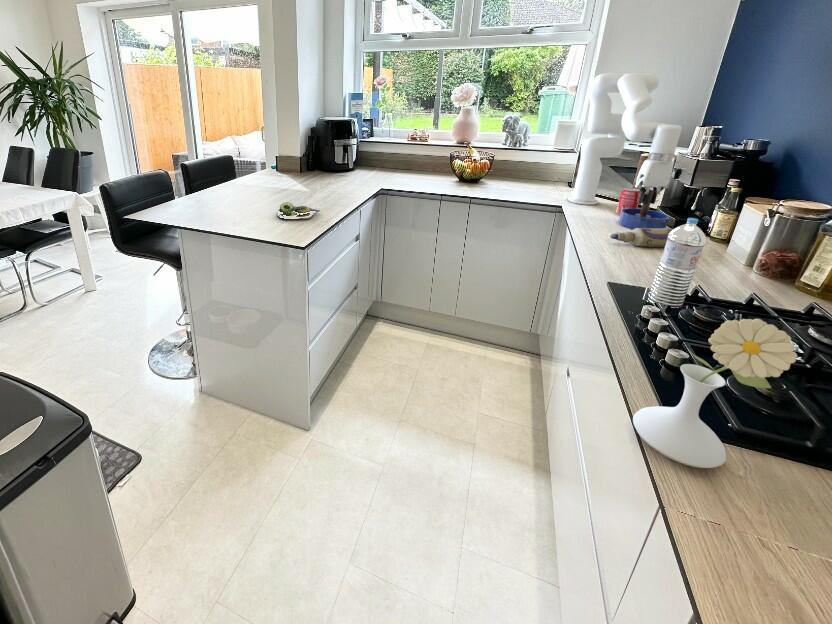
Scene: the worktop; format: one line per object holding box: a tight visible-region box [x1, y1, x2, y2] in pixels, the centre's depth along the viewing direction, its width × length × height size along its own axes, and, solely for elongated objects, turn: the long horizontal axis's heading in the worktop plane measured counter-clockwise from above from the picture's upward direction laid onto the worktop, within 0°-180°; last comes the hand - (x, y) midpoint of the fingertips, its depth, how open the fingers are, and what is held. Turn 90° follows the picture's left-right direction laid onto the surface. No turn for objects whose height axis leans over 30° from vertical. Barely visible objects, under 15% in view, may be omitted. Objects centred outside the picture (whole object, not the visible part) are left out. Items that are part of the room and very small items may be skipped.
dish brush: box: [635, 188, 654, 218], centre depth 162 cm, size 5×5×15 cm
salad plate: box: [276, 201, 321, 220], centre depth 182 cm, size 19×18×5 cm
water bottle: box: [646, 217, 707, 308], centre depth 98 cm, size 7×7×25 cm
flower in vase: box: [632, 318, 798, 469], centre depth 59 cm, size 13×11×25 cm
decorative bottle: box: [609, 227, 674, 248], centre depth 143 cm, size 26×8×7 cm, turn 82°
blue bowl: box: [618, 207, 670, 230], centre depth 164 cm, size 15×15×6 cm
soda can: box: [615, 187, 642, 217], centre depth 176 cm, size 7×7×12 cm
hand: (646, 202), depth 161 cm, fingers closed on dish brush, 2 cm apart
